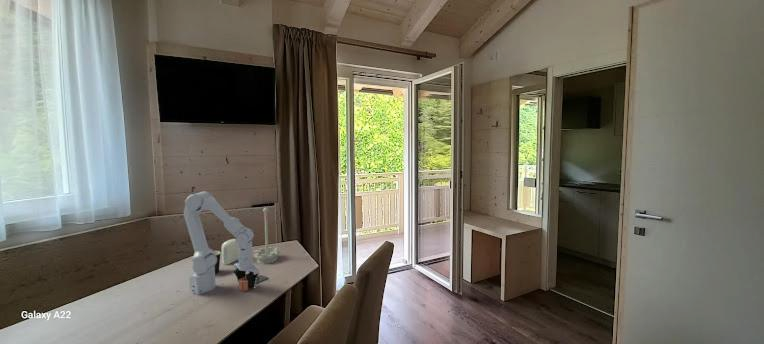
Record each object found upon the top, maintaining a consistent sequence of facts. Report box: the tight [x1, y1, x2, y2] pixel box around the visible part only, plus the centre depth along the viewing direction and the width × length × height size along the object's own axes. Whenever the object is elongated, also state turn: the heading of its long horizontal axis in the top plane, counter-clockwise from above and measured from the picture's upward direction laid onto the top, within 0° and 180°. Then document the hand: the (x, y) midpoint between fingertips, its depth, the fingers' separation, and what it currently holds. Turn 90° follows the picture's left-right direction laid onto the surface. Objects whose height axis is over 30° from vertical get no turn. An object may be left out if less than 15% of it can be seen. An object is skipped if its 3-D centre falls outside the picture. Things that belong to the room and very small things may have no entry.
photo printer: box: [220, 238, 239, 266], centre depth 173 cm, size 10×4×12 cm, turn 160°
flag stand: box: [254, 207, 280, 264], centre depth 175 cm, size 13×13×30 cm
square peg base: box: [254, 273, 269, 285], centre depth 148 cm, size 7×7×4 cm
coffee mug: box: [213, 250, 222, 275], centre depth 158 cm, size 12×9×10 cm
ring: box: [238, 276, 255, 292], centre depth 139 cm, size 6×6×4 cm
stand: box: [235, 284, 259, 294], centre depth 140 cm, size 7×7×4 cm
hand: (246, 286), depth 140 cm, fingers closed on ring, 6 cm apart
